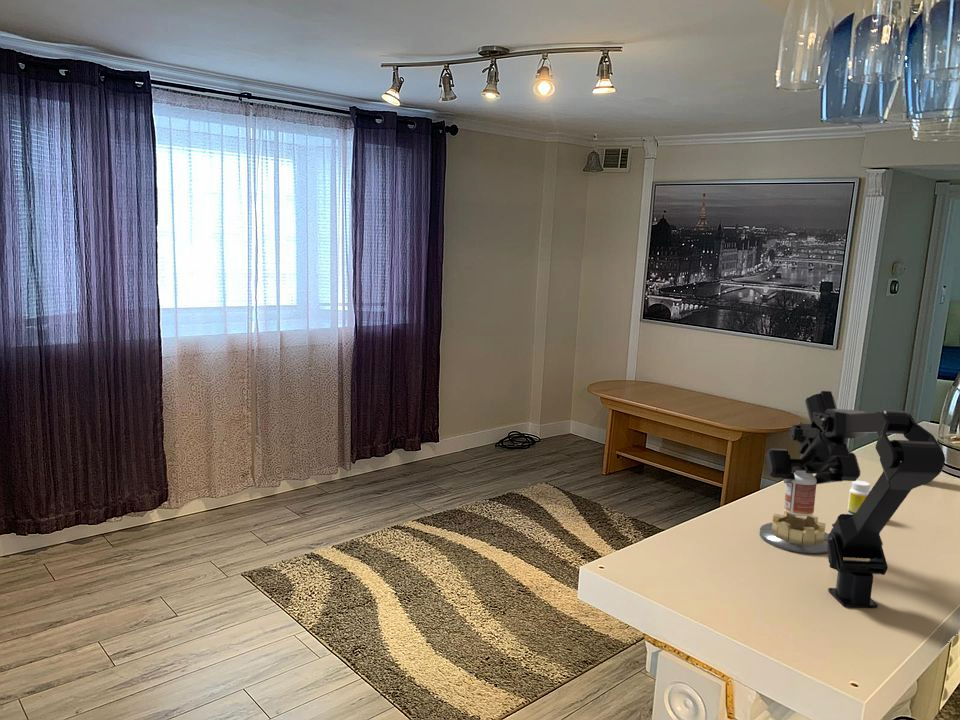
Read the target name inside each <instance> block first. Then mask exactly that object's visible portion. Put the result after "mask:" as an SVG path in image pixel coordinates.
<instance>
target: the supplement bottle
mask: <svg viewBox="0 0 960 720" xmlns="http://www.w3.org/2000/svg"><path fill="white" fill-rule="evenodd" d="M870 491H871V483H869V482H868V481H864V480H856V481H851V487H850V489H849V491H848V492H849V493H848V501H847V509H846V514H854V515H855V513H856V512H857V510H858V509H859V507H860V506H861V504H862V503H863V501H864V500H865V498H866V497H867V495H868V494H869V492H870Z"/></svg>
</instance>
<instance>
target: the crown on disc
mask: <svg viewBox="0 0 960 720" xmlns="http://www.w3.org/2000/svg"><path fill="white" fill-rule="evenodd" d="M818 519H819V518H818V516H815V515H811V516H796V515H792V514H789V513H787V512H786V511H785V510H784V514H779V513H773V515H772V522H769V523H765V524H762V525H761V526H760V528H759V536H760V538H761V539H762V540H763V541H764V542H765V543H767V544H769V545H771V546H773V547H775V548H778V549H781V550H784V551H787V552H791V553H795V554H801V555H802V554H803V555H812V556H815V555H828V542H827V538H828V535H829V533H827V532H826V522H825V523H824V522H819V521H818Z"/></svg>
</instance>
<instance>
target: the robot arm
mask: <svg viewBox="0 0 960 720" xmlns="http://www.w3.org/2000/svg"><path fill="white" fill-rule="evenodd" d="M804 402H805V403H804V404H805V407H806V411H807V414H808V419H809V424H808V423H799V424H793V425H792V426H791V427H790V428H789V430H788V436H789V438H790V440H791V441H792V442H797V443H798V444H799V447H798V448H797V449H798V454H800V457H799V459H798V458H791V455H790V454H789V451H788V449H786V448H769V449H768V450H767V452H766V454H765V458H766V463H767V469H768V472H769V473H768V474H769V475H770V477H772V478H776V479H777V478H779V479H780V478H781V479H782V480H783V484H786V483H789V482H791V481H793V480H795V475H794V473H795V472H796V471H806V473H812V474H813V475H814V474H815V475H814V476H815V478H816V480H817V483H816V486H817V485H823V484H829V483H838V482H839V483H840V482H845V481H847V482H853V481H858V479H859V477H860V476H861V472H862V471H861V469H860V466H859V465H860V464H859V462H858V458H857V455H856V454H855V453H854V452H852V451H849V447H848V444H849V439H851V440H852V439H853V440H859V439H862V438H865V437H867V436H868V434H872V433H873V434H877V435H878V438H877V441H876V444H875V447H874V448H875V450H876V452H877V455H878V457H879V461H880V465H881V467H882V473H881V475H880V476H879V477H878V479H877V480H876V482H875V483H874V485H873V487H872V488H870V490H869V491H870V492H869V494H868V495H867V497H866V498H865V500H864V501H863V503H862V504H861V506H860V507H859V509H858V510H857V512H856V513H855V515H854V514H848V513H841V514H839V515H838V516H837V518H836V520H835V521H834V523H832V524H831V526H832V528H831V530H830V532H829V533H828V534H829V535H828V538H827V542H828V554H827V558H828V559H827V560H828V563H829V568H830V569H832V570H835V571H837V577H836V585H835V586H836V587H828V589H827V591H828V593H830V594H831V595H832V596H833V597H834V598H835V599H836V600H837V601H838V602H839V603H840V604H841V605H842V606H844V607H851V608H878V606H879V604H878V603H877V602H876V601H875V600H874V599H873V598H872V591H873V583H874V575H882V576H884V575H886V573H887V569H889V568H888V563H887V559H886V555H885V552H884V549H883V545H884V544H883V543H884V542H883V540H882V538H881V535H880V533H881V532H882V531H883V529H884V528H885V526H886V525H888V524H887V523H888V522H889V521H890V520H891V518H892V517H893V515H895V513H896V511H897V510H898V509H899V508H900V506H901V504H902V503H903V502H904V501H905V499H906V498H907V497H908V495H909V494H910V493H911V491H912V490H913V489H916V488H919V487H921V486H923V485H927V483H928V484H930V483H929V482H933V480H934V479H935V478H937V476H939V475H940V474H941V473H942V471H943V469H944V467H945V464H946V456H945V453H944V451H943V450H942V447H941V446H940V444H939V442H938V441H937V439H936V438H935V436H934V435H933V434H932V433H931V432H930V431H928V430H927V429H926V428H924V427H922V426H921V425H920V424H918V422H917V423H916V421H915V419H914V418H913V416H912V414H911V413H909V412H907V411H904V410H887V409H884V410H880V411H871V412H866V411H862V410H860V409H845V408H844V409H841V408H840V409H838V407H837V404H836V401H835V397H834V395H833V392H832V391H831V390H821V391H820V393H817V394H812V395H811V396H809V397H807V398H806V399H805V401H804ZM888 434H891V435H893V434H894V435H903V436H904V437H903V438H905V439H906V440H904V439H903V440H902V439H891V440H890V438H889V437H888ZM908 440H909V441H908ZM845 558H847V559H845ZM848 558H849V559H848ZM852 559H853V560H852ZM854 559H866V560H854Z"/></svg>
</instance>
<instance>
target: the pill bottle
mask: <svg viewBox="0 0 960 720" xmlns="http://www.w3.org/2000/svg"><path fill="white" fill-rule="evenodd" d="M794 475H795V480H793V481H791V482H789V483H785V485H786V486H785V495H784V506H783V510H784V512H785V511H786V512H787V513H789V514H792V515H796V516H801V517H807V516H811V515H813V514H814V512H815V503H816V502H815V501H816V491H817V485H816V483H817V480H816V478H815V475H814V474H812V473H806V471H796V472H795V473H794ZM813 516H814V515H813Z"/></svg>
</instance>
